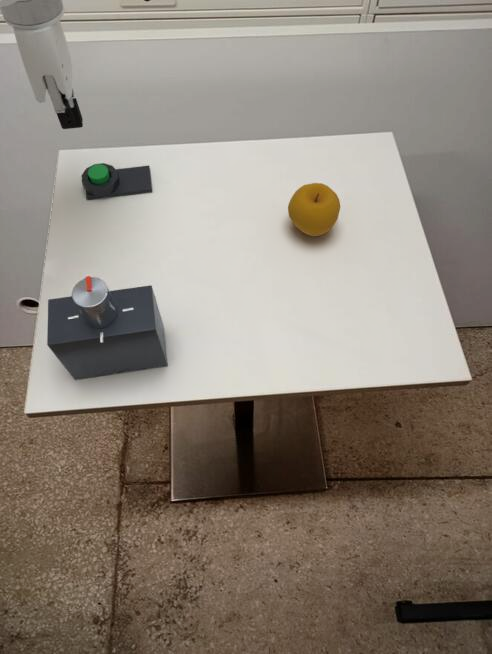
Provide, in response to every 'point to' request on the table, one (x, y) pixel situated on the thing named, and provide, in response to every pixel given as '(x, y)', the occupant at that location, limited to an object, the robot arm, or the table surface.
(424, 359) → the table surface
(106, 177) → the button
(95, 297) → the program dial
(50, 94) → the robot arm
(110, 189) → the button block
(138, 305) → the dial panel
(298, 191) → the apple
